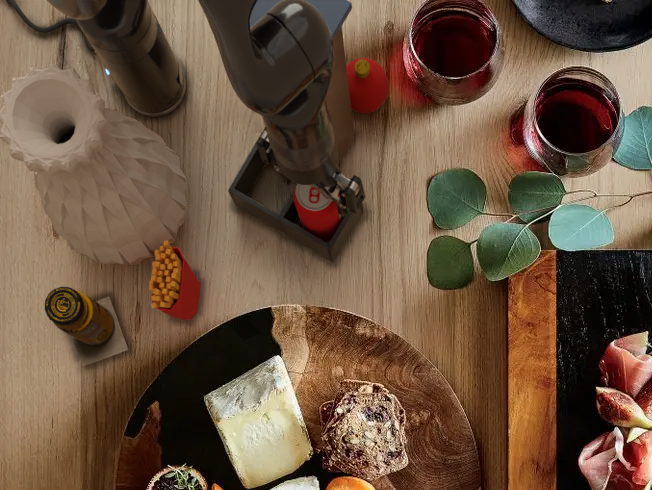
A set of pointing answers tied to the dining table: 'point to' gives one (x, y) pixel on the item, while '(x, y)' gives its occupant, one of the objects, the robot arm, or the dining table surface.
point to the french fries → (174, 284)
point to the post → (340, 99)
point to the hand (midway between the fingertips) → (317, 193)
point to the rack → (287, 212)
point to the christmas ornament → (366, 85)
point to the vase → (94, 167)
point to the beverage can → (316, 212)
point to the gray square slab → (328, 4)
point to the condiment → (86, 323)
